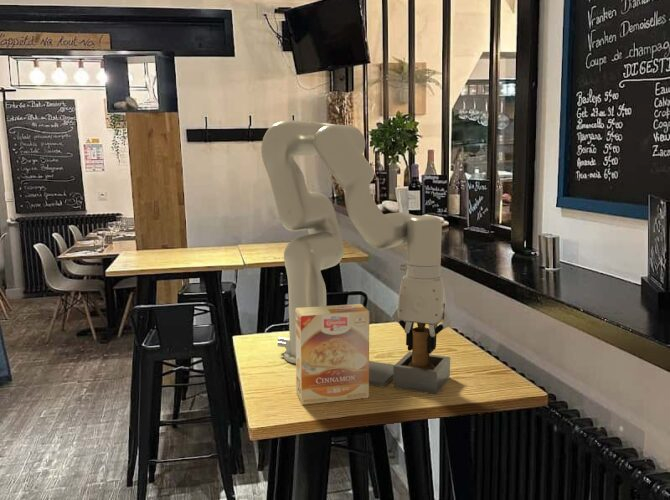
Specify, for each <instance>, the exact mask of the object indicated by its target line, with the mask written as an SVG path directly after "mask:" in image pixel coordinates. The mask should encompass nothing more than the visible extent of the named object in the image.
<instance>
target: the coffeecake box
mask: <svg viewBox="0 0 670 500" xmlns="http://www.w3.org/2000/svg"><path fill="white" fill-rule="evenodd" d="M295 320H296V364H295V368H296V369H295V371H296V372H295V387H296V395H297V397H298V400H299V402H300V404H301V405H302V406H306V405H311V404H313V405H314V404H321V403H322V404H323V403H331V402H341V401H342V402H343V401H351V400H360V399H361V398H363V399H369V398H370V384H369V361H370V311H369V309H367V308H366V307H365V306H364V305H363V304H362V303H353V304H352V303H351V304H339V305H337V304H336V305H326V306H319V307H303V308H295ZM368 397H369V398H368Z"/></svg>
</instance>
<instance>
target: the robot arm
mask: <svg viewBox="0 0 670 500" xmlns="http://www.w3.org/2000/svg"><path fill="white" fill-rule="evenodd" d="M260 149H261V157H262V162H263V166H264V168H265V169H266V173H267V175H268V179H269V182H270V185H271V189H272V194H273V196H274V202H275V205H276V209H277V214H278V217H279V220H280V223H281V225H282V227H283V228H285V230H287V231H290V232H300V231H306V230H307V231H308V234H305V235H300V236H298V237H295V238H293V239H291V240H290V241H289V242H288V243H287V244H286V246H285V248H284V253H283V261H284V267H285V271H286V275H287V286H288V315H289V316H288V317H289V319H288V320H289V321H288V323H289V328H288V331H289V338H288V337H282V336H278V339H277V347H280V348H285V351H284V353H283V358H284V360H285V361H287V362H288V363H291V364H295V365H296V320H295V308H303V307H319V306H327V289H326V283H325V281H324V278H323V275H322V272H321V271H323V270H327V269H329V268H332V267H335V266H337V265H338V264H339V263H340V262H341V261H342V259H343V257H344V251H345V249H344V241H343V238H342V233H341V230H340V227H339V222H338V218H337V215H336V211H335V207H334V206H333V204H332V201H331V200H330V199H329V197H328V196H327V195H325V194H324V193H322V192H319V191H309V190H308V188H307V184H306V179H305V175H304V173H303V171H302V169H301V167H300V166H299V165H298V163H297V162H296V160H295V158H294V157H295V156H316V157H317V156H318V157H319V158H320V160H322V162H323V163H324V165H325V166H326V167H327V169H328V171H329V172H330V173H331V175H333V177H334V179H335V181H336V182H337V183H338V185H339V186H340V188H341V189H342V190H343V193H344V203H345V207H346V211H347V215H348V218H349V220H350V221H351V223H352V225H353V226H354V228H355V229H356V230H357V232H358V233H359V235H360V237H362V239H363V240H364V241H365V242H366V243H367V244H368V245H369V246H371V248H374V249H377V250H386V249H391V248H394V247H399V246H402V245H403V246H404V245H406V263H405V264H400V267H399V268H400V269H399V270H400V271H403V272H405V275H404V276H402V278H401V283H400V286H399V287H400V288H399V292H398V293H399V294H398V302H397V309H396V310H394V313H393V314H392V316H391V318H392V319H393V320H394V321H395V322H396V323H398V324H399V325H400V327H402V329H403V330H404V333H405V334H406V336H405V346H407V351H408V352H412V345H413V328H415V324H417V323H422V324H426V325H428V328H429V331H430V333H429V336H428V338H427V353H428V354H430V355H432V352H434V350H436V348H437V335H438V334H439V333H441V332H442V330H445V329H447V328H449V327H451V326H452V325H453V321H452V319H451V317H450V315H449V314H448V312H447V311H446V308H447V307H446V303H447V301H446V289H445V284H444V279H443V277H441V263H442V262H441V261H442V259H441V257H442V236H443V235H442V234H443V232H442V229H443V223H442V220H441V219H440V218H439V217H437V216H433V215H417V214H416V215H415V214H411V213H407V212H402V211H399V212H389V213H386V214H385V213H383V212H382V211H381V209H380V207H379V206H378V204H377V203H376V202H375V200H374V199H373V196H372V194H371V190H370V185H371V182H372V181H373V179H374V177H375V170H374V168H373V167H372V165H371V164H370V163H369V161H368V160H367V158H366V157H365V156H364V152H365V149H366V140H365V136H364V134H363V133H362V131H361V130H360V129H359V128H357V127H356V126H354V125H350V124H334V123H327V122H317V121H308V120H307V121H302V120H282V121H278V122H276V123H274V124H273V125H271V126H269V128H268V129H267V130H266V132H265V134H264V136H263V137H262V142H261V147H260ZM442 321H443V322H442Z"/></svg>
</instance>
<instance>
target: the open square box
mask: <svg viewBox="0 0 670 500" xmlns="http://www.w3.org/2000/svg"><path fill="white" fill-rule="evenodd" d="M411 361H412V351H408V352H407V353H405V355H404V356H403V357H402V358H401V359H399V360H398V361H397V362H396V363H395V364H393V365H394V366H393V379H392V380H393V381H392V383H393V385H392V387H393V388H395V389H400V388H401V390H406V389H407V390H408V391H412V390H413V392H418V391H419V393H424V392H427V394H431V393H432V395H438V393H439V392H440V391H441V390H442V388H443V387H444V386H445V385H446V383H447V382H448V381H449V380H450V378H451V357H450V356H445V355H444V356H443V355H437V354H429V362H430V363H432V365H434V366H435V369H434V370H430V369H423V368H416V367H409V366H406V365H407V364H409V363H410V362H411ZM407 390H406V391H407Z"/></svg>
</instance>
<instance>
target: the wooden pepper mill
mask: <svg viewBox="0 0 670 500" xmlns="http://www.w3.org/2000/svg"><path fill="white" fill-rule="evenodd" d="M426 325H427V324H422V323H416V326H417V327H413V345H412V350H411V352H412V361H411V362H410V363H409V364H407V365H406V366H409V367H416V368H423V369H430V370H434V369H435V366H434V365H432V363H430V362H429V354H428V353H427V338H428V336H429V333H430V331H429V327H426Z"/></svg>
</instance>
